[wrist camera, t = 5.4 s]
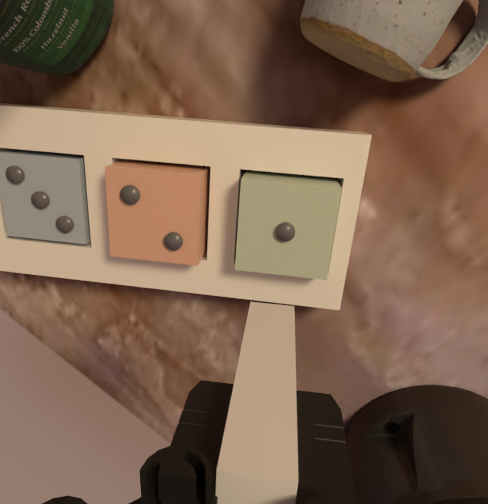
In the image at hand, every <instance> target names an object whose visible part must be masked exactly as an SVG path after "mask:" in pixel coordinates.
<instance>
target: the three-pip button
mask: <svg viewBox="0 0 488 504" xmlns="http://www.w3.org/2000/svg"><path fill="white" fill-rule="evenodd" d="M0 194H1V200H2V206H3V212H4V218H5V224H6V230H7V236H13V237H23V238H32V239H41V240H50V241H59V242H69V243H78V244H88V243H89V242H90V241H91V236H90V224H89V212H88V199H87V187H86V174H85V162H84V155H77V154H66V153H55V152H44V151H33V150H21V149H8V150H2V151H0Z"/></svg>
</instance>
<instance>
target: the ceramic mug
mask: <svg viewBox="0 0 488 504" xmlns="http://www.w3.org/2000/svg"><path fill="white" fill-rule="evenodd" d="M462 2H463V0H305V3H304V7H303V10H302V13H301V19H300V26H301V31H302V33H303V35H304V37H305V38H306V39H307V40H309V41H310V42H311V43H313V44H314V45H315V46H317V47H319V48H320V49H322V50H324V51H325V52H327V53H329V54H331V55H332V56H334V57H336V58H338V59H340V60H342V61H344V62H346V63H348V64H350V65H352V66H354V67H356V68H358V69H360V70H362V71H365V72H367V73H369V74H372V75H374V76H377V77H379V78H382V79H385V80H388V81H393V82H400V81H402V80H405V79H407V78H409V77H410V76H411V75H412V74H413V75H416V76H420V77H424V78H428V79H447V78H450V77H452V76H455V75H457V74H458V73H460V72H462V71H464V70H465V69H466V68H467V67H468V66H469V65H471V64H472V62H473V61H474V60H475V59H477V57H478V56H479V55H480V54H481V52H482V51H483V50H484V48H485V47H486V46H487V44H488V0H479V5H478V14H477V18H476V19H475V22H474V26H473V27H472V29H471V30H470V32H469V33H468V35H467V36H466V38H465V39H464V40H463V42H462V43H461V44H460V46H459V47H458V48H457V50H456V51H455V52H454V53H452V54H451V55H450V57H449V59H448V60H447V62H446V63H445V64H444V65H442V66H440V67H438V68H433V69H430V70H427V69H424V68H423V67H421V64H422V63H423V62H424V61H425V60H426V58H427V57H428V56H429V54H430V53H431V52H432V50H433V49H434V47H435V45H436V44H437V42H438V41H439V39H440V38H441V36H442V34H443V32H444V31H445V29H446V27H447V25H448V23H449V22H450V20H451V18H452V17H453V15H454V14H455V12H456V11H457V9H458V8H459V6H460V5H461V3H462Z"/></svg>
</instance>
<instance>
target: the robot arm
mask: <svg viewBox="0 0 488 504" xmlns="http://www.w3.org/2000/svg"><path fill="white" fill-rule="evenodd" d="M140 482H141V498H139V499H137V500H135V501H133V502H131V503H129V504H488V399H486V398H484V397H483V396H481V395H478V394H476V393H473V392H471V391H468V390H464V389H460V388H456V387H449V386H436V385H430V386H417V387H411V388H406V389H402V390H398V391H395V392H392V393H389V394H387V395H385V396H382V397H380V398H378V399H377V400H375V401H373V402H372V403H370V404H369V405H367V406H366V407H365V408H363V409H362V410H361V411H360V412H359V413H358V414H357V415H356V416H355V417H354V418H353V420H352V421H351V422H350V424H349V425H348V427H347V429H346V431H344V425H343V419H342V413H341V409H340V407H339V406H338V405H337V403H336V402H335V400H334V399H333V397H332V396H331V394H323V393H314V392H306V391H297V390H296V355H295V312H294V306H288V305H278V304H268V303H257V302H250V307H249V312H248V317H247V321H246V326H245V331H244V336H243V341H242V346H241V351H240V356H239V361H238V366H237V371H236V376H235V381H234V384H227V383H219V382H211V381H202V380H201V381H200V382H199V383H198V384H197V385H196V386H195V387H194V388H193V389H192V390H191V391H190V392H189V394H188V397H187V400H186V403H185V406H184V410H183V411H182V414H181V417H180V420H179V424H178V426H177V428H176V431H175V434H174V437H173V440H172V443H171V445H170V446H169V447H166V448H163V449H161V450H158V451H157V452H156V453H154V454H153V455H152V456H150V457H149V458H148V459H147V460H146V462H145V463H144V465H143V466H142V468H141V469H140ZM43 504H87V503H86V502H85V501H83V500H82V499H81V498H76V497H71V496H64V497H58V498H53V499H51V500H49V501H47V502H45V503H43Z"/></svg>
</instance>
